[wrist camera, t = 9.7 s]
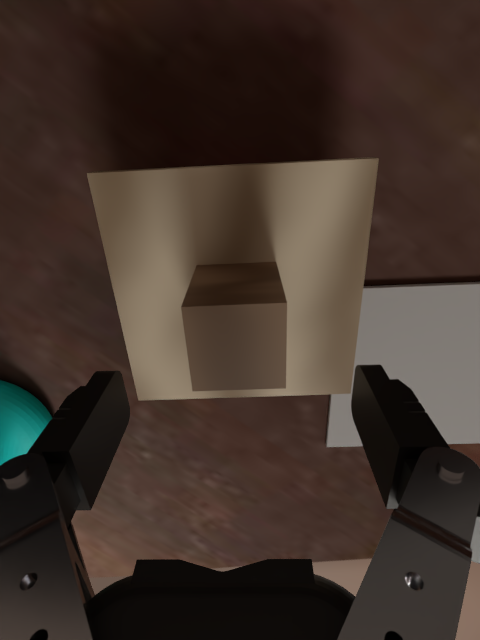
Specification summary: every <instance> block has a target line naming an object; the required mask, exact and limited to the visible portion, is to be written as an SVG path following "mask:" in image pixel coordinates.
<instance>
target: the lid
mask: <svg viewBox="0 0 480 640" xmlns="http://www.w3.org/2000/svg"><path fill="white" fill-rule="evenodd" d="M378 161H379V158H372V157H369V158H349V159H330V160H311V161H291V162H272V163H253V164H233V165H214V166H195V167H175V168H156V169H137V170H117V171H98V172H91V173H87V176H88V181H89V185H90V190H91V194H92V198H93V203H94V207H95V212H96V216H97V220H98V225H99V229H100V233H101V238H102V242H103V247H104V251H105V255H106V260H107V264H108V269H109V273H110V277H111V282H112V286H113V291H114V295H115V299H116V304H117V308H118V313H119V317H120V321H121V326H122V330H123V335H124V339H125V343H126V348H127V352H128V356H129V361H130V365H131V370H132V374H133V378H134V383H135V387H136V392H137V396H138V400H167V399H198V398H230V397H261V396H292V395H324V394H351V386H352V378H353V369H354V361H355V353H356V344H357V336H358V328H359V319H360V311H361V303H362V294H363V286H364V278H365V269H366V261H367V252H368V244H369V236H370V227H371V219H372V211H373V202H374V194H375V186H376V177H377V169H378Z"/></svg>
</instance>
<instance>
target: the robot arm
mask: <svg viewBox="0 0 480 640" xmlns="http://www.w3.org/2000/svg"><path fill="white" fill-rule="evenodd" d="M351 411H352V417H353V421H354V423H355V426H356V429H357V431H358V434H359V437H360V439H361V442H362V445H363V447H364V450H365V453H366V455H367V458H368V461H369V463H370V466H371V469H372V471H373V474H374V477H375V479H376V482H377V485H378V488H379V490H380V493H381V496H382V498H383V501H384V504H385V506H386V509H394V510H393V512H392V514H391V516H390V519H389V521H388V523H387V526H386V528H385V530H384V533H383V535H382V537H381V539H380V542H379V544H378V546H377V549H376V551H375V553H374V556H373V558H372V560H371V563H370V565H369V567H368V570H367V572H366V574H365V576H364V579H363V581H362V583H361V586H360V588H359V590H358V592H357V595H356V597H355V596H354V595H353V594H351V593H350V592H348V591H347V590H346V589H344V588H343V587H341V586H340V585H338V584H336V583H335V582H333V581H331V580H328V579H326V578H324V577H321V576H318V575H315V574H314V573H313V566H312V560H311V559H267V560H263V561H260V562H257V563H253V564H250V565H246V566H243V567H239V568H236V569H233V570H229V571H225V572H220V571H216V570H213V569H209V568H206V567H203V566H199V565H196V564H193V563H189V562H186V561H183V560H137V561H136V565H135V569H134V573H133V575H132V576H129V577H126V578H124V579H122V580H119V581H117V582H115V583H113V584H112V585H110V586H108V587H106V588H105V589H103V590H102V591H100V592H99V593H98V594H96V595H95V594H94V591H93V589H92V586H91V583H90V580H89V577H88V573H87V570H86V567H85V564H84V560H83V557H82V554H81V551H80V547H79V544H78V541H77V538H76V534H75V531H74V528H73V525H72V522H71V520H72V518H73V515H74V513H75V511H76V510H91V509H92V506H93V504H94V502H95V499H96V497H97V495H98V492H99V490H100V488H101V485H102V483H103V481H104V478H105V476H106V474H107V471H108V469H109V467H110V464H111V462H112V460H113V457H114V455H115V453H116V450H117V448H118V446H119V444H120V441H121V439H122V437H123V434H124V432H125V430H126V427H127V425H128V422H129V417H130V407H129V402H128V398H127V394H126V390H125V386H124V382H123V377H122V374H121V372H120V371H97V372H95V373H94V374H93V376H92V377H91V379H90V380H89V382H88V383H87V385H86V386H80V387H79V388H78V389H76V390H75V391H74V392H72V393H71V394H70V395H69V396H67V398H66V399H65V400H64V402H63V403H62V405H61V406H60V407H59V410H57V412H56V413H55V414H54V416H53V419H52V420H50V421H49V423H48V424H47V426H46V427H45V428H44V430H43V431H42V433H41V434H40V435H39V437H38V438H37V440H36V441H35V442H34V444H33V445H32V447H31V448H30V449H29V451H28V452H27V454H23V455H19V456H17V457H14V458H12V459H10V460H8V461H6V462H5V463H3V464H2V465H0V640H455V638H456V632H457V628H458V622H459V618H460V613H461V608H462V603H463V598H464V594H465V589H466V584H467V579H468V574H469V569H470V564H471V561H473V562H476V563H480V468H479V467H478V465H477V464H476V463H475V462H474V461H473V460H471V459H470V458H469V457H467V456H466V455H464V454H462V453H461V452H458V451H456V450H453V449H450V447H449V446H448V444H447V443H446V441H445V440H444V438H443V437H442V435H441V434H440V432H439V431H438V429H437V427H436V426H435V424H434V423H433V421H432V420H431V418H430V417H429V415H428V414H427V413H425V409H424V408H423V406H422V405H421V403H419V400H418V398H417V397H416V395H415V394H414V392H413V391H412V389H411V388H409V387H408V386H407V385H405V384H404V383H403V382H401V381H400V380H399V379H389V377H388V375H387V374H386V372H385V370H384V369H383V367H382V366H381V365H380V364H378V365H357V366H356V368H355V374H354V382H353V391H352V399H351Z"/></svg>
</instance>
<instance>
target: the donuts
mask: <svg viewBox="0 0 480 640" xmlns="http://www.w3.org/2000/svg"><path fill="white" fill-rule="evenodd" d="M52 419H53V418H52V416H51V415H50V413H49V411H48V410H47V409H46V407H45V406H44V405H43V404H42V403H41V402H40V401H39V400H38V399H37V398H36V397H35V396H33V395H32V394H31V393H29V392H28V391H26V390H24V389H22V388H21V387H19V386H16V385H14V384H11V383H8V382H5V381H1V380H0V465H2V464H3V463H5V462H6V461H8V460H10V459H12V458H14V457H17V456H19V455H23V454H27V452H28V451H29V449H30V448H31V447H32V445H33V444H34V442H35V441H36V440H37V438H38V437H39V435H40V434H41V433H42V431H43V430H44V428H45V427H46V426H47V424H48V423H49V421H50V420H52Z"/></svg>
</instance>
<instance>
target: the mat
mask: <svg viewBox="0 0 480 640" xmlns="http://www.w3.org/2000/svg"><path fill="white" fill-rule="evenodd" d="M378 364H380V365H381V366H382V367H383V369H384V370H385V372H386V374H387V375H388V377H389V379H399V380H400V381H401V382H403V383H404V384H405V385H407V386H408V387H409V388H411V389H412V391H413V392H414V394H415V395H416V397H417V398H418V400H419V403H421V405H422V406H423V408H424V409H425V413H427V414H428V415H429V417H430V418H431V420H432V421H433V423H434V424H435V426H436V427H437V429H438V431H439V432H440V434H441V435H442V437H443V438H444V440H445V441H446V443H447V444H467V443H480V282H462V283H436V284H410V285H384V286H363V294H362V303H361V311H360V319H359V328H358V336H357V344H356V353H355V361H354V369H353V378H352V386H351V394H330V402H329V413H328V424H327V435H326V446H327V447H350V446H363V445H362V442H361V439H360V437H359V434H358V431H357V429H356V426H355V423H354V421H353V417H352V411H351V399H352V391H353V382H354V374H355V368H356V366H357V365H378Z"/></svg>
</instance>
